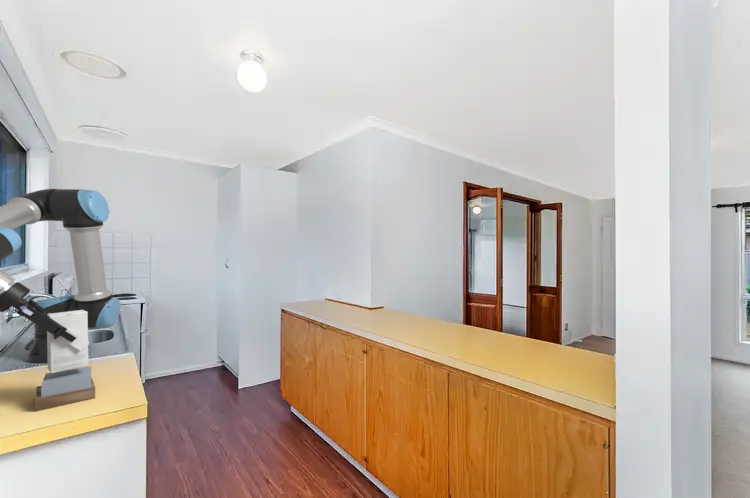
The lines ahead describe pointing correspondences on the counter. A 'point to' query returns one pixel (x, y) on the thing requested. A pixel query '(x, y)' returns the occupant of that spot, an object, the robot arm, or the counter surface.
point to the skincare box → (61, 351)
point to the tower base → (63, 398)
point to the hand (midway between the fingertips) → (83, 343)
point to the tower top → (66, 381)
